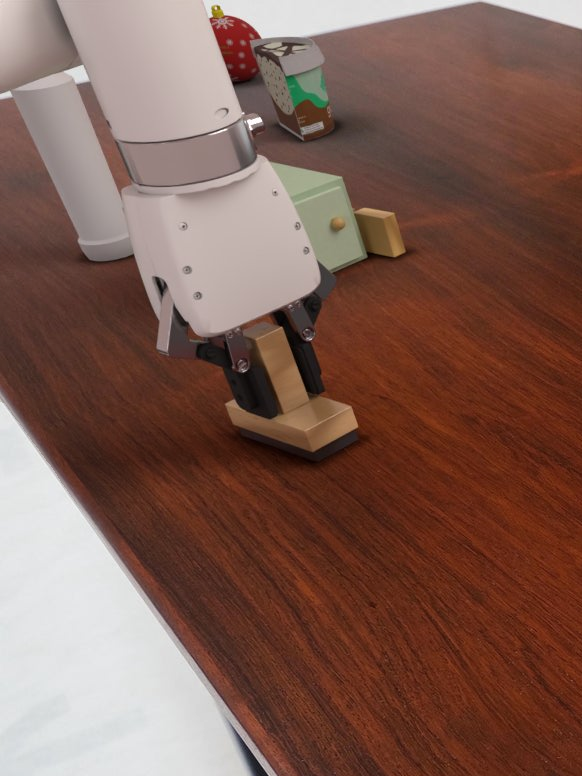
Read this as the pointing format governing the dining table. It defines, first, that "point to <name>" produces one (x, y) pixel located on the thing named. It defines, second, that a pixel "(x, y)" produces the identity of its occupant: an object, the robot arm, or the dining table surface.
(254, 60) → the christmas ornament
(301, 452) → the brush
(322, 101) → the food container
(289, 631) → the dining table surface
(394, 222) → the cork chip
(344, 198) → the cabinet
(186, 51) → the robot arm
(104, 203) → the bottle
